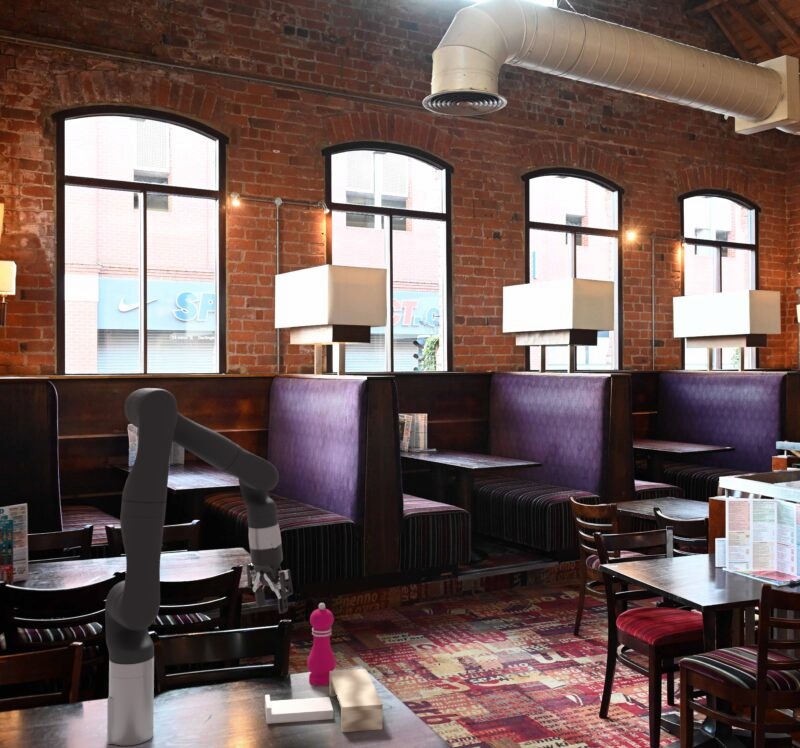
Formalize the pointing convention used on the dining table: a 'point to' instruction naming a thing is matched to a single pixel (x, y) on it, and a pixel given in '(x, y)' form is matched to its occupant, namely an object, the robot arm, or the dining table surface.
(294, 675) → the dining table surface
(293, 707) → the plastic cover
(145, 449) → the robot arm
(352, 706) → the overhang shelf
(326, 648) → the pepper mill
